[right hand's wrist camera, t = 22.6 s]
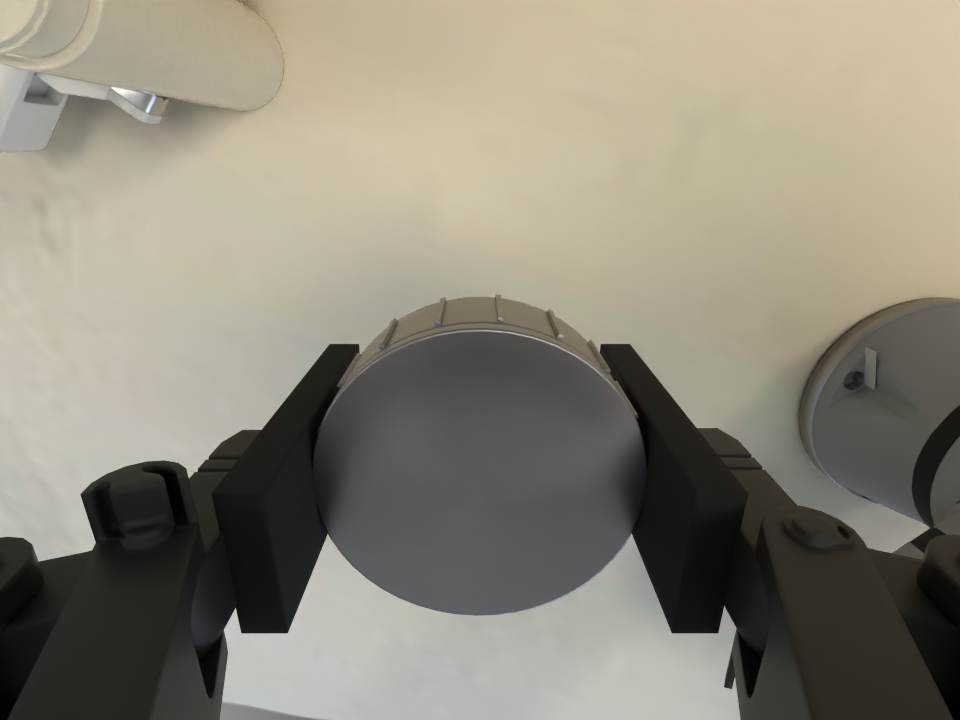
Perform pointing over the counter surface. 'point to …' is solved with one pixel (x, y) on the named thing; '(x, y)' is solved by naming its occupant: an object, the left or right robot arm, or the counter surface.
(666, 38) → the counter surface
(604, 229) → the counter surface
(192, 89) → the jar
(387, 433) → the lid
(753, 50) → the counter surface
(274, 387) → the counter surface
